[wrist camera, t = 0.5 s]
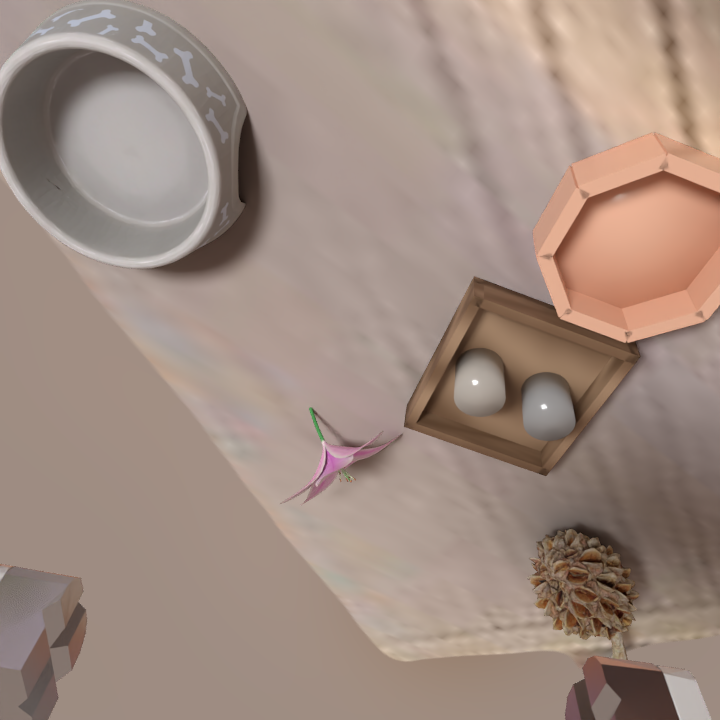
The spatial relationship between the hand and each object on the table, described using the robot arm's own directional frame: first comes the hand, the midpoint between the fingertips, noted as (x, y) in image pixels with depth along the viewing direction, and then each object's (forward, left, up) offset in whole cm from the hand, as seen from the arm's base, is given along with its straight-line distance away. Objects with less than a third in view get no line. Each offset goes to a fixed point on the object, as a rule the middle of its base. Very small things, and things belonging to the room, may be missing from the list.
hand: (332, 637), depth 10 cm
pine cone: (+41, +34, -40) cm, 66 cm away
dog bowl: (+13, -19, -40) cm, 46 cm away
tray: (+21, +15, -39) cm, 47 cm away
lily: (+34, +4, -40) cm, 52 cm away
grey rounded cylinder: (+21, +18, -38) cm, 47 cm away
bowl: (+6, +17, -39) cm, 43 cm away
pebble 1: (+21, +12, -38) cm, 45 cm away
